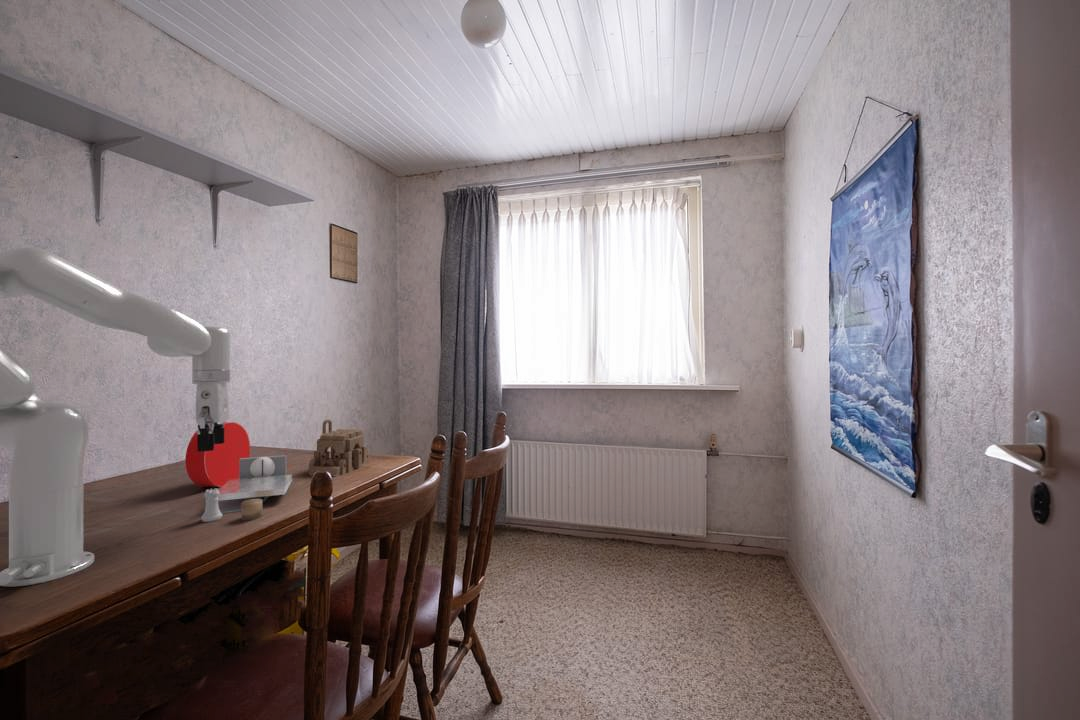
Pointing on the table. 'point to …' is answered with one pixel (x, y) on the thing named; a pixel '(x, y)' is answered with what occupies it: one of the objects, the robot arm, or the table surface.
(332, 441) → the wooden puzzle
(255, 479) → the pan
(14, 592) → the table surface
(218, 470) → the red thick disc
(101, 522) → the table surface
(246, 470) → the scale base
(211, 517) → the rook chess piece
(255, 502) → the tan cylinder
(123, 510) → the table surface
